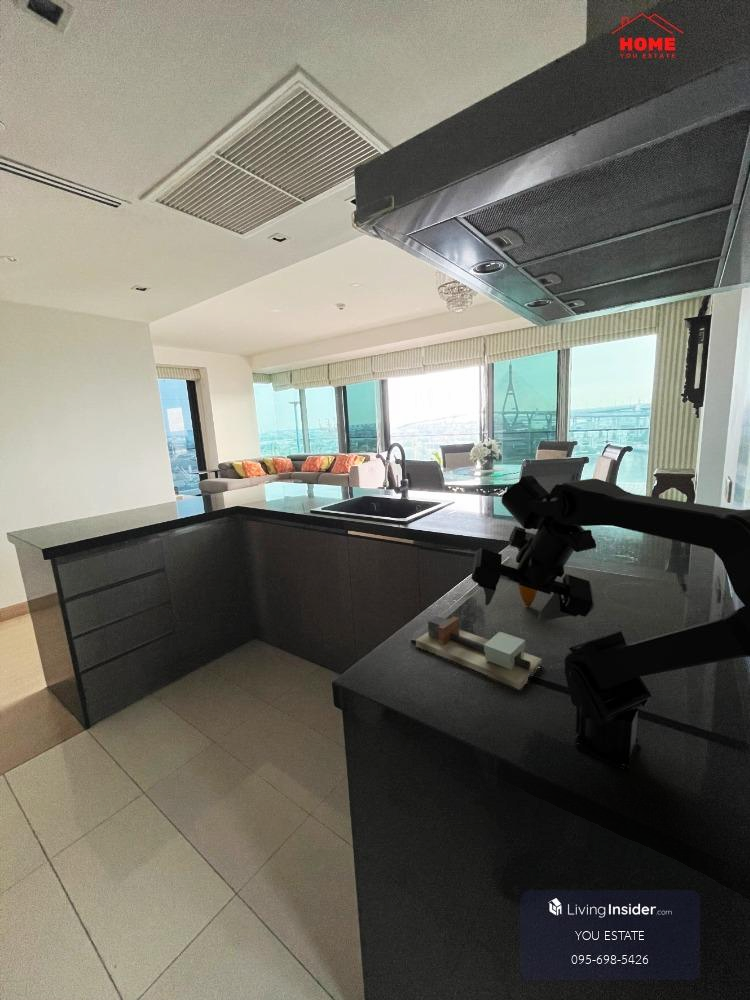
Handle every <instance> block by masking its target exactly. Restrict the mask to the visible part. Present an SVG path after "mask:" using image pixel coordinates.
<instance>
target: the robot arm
mask: <svg viewBox="0 0 750 1000" xmlns="http://www.w3.org/2000/svg"><path fill="white" fill-rule="evenodd" d="M501 505H503V507H504V508H505V509H506V510H507V511H508V512H509V514H510V515H511V516H512V517H513V518H514V519H515V520H516V522H517V523H519V525H521V527H520V526H515V525H514V528H513V529H512V531H511V533H510V535H509V538H508V543H509V546H510V547H512V548H517V550H518V553H517V555H516V557H515V562H516V564H517V563H518V564H519V565H518V564H517V566H516V568H515V567H512V566H509V565H505V564H503V563H502V562H503V561H502V560H503V558H502V557H503V554H502V553H499V552H495V551H492V550H489V549H485V548H479V549H477V550H476V552H475V554H474V556H473V562H472V563H473V564H472V571H471V580H472V581H473V582H474V583H476V584H477V585H478V586H479V588H483V591H484V594H485V595H484V596H485V600H484V601H485V602H484V603H485V604H484V605H485V606H489V605H490V603H491V602H492V600H493V597H494V595H495V593H496V591H497V586H498V583H499V582H500V579H501V580H504V581H507V582H510V583H513V584H516V585H518V584H519V585H521V586H524V587H528V588H531V589H534V590H537V592H541V593H544V594H547V595H551V594H552V593H553V594H552V596H551V597H550V598H549V600H548V601H547V602H546V604H545V605H544V606H543V607H542V609H541V610H540V612H539V614H538V615H537V623H544V622H547V621H550V620H551V621H552V620H555V619H560V618H565V617H578V616H581V617H584V618H586V617H587V616H589V615H590V614H591V612H592V611H593V610H594V608H595V600H594V599H595V598H594V593H593V587H592V584H591V582H590V580H587V579H584V578H581V577H576V576H574V575H571V574H565V569H564V568H565V565H567V562H568V561H569V559H570V557H571V556H572V554H574V552H576V553H580V552H583V551H588V550H589V551H590V550H592V549H596V548H597V543H596V540H595V538H594V537H593V535H592V533H593V532H592V530H591V529H585V528H583V527H598V526H601V527H602V526H608V527H616V528H620V529H625V530H628V531H633V532H637V533H641V534H644V535H645V534H646V535H650V536H653V537H654V536H655V537H658V538H663V539H667V540H671V541H676V542H679V543H680V542H681V543H682V544H683V543H685V544H689V545H691V546H692V545H693V546H696V547H701V548H706V549H710V550H712V551H713V552H714V553H715V555H716V556H717V557H718V558H719V560H721V562H722V563H723V566H724V569H725V571H726V575H727V576H728V579H729V581H730V584H731V587H732V589H733V591H734V593H735V595H736V597H737V598H738V600H740V602H741V603H742V604H743V606H741V607H739V608H738V609H736V610H734V611H733V612H731V613H729V614H728V615H726V616H724V617H720V618H716V619H713V620H710V621H709V620H708V621H706V622H703V623H699V624H695V625H692V626H689V627H685V628H681V629H677V630H675V631H671V632H670V631H669V632H667V633H664V634H659V635H656V636H653V637H649V638H646V639H645V638H644V639H642V640H638V641H628V640H625V637H624V634H623V632H622V631H621V630H620V631H617V632H613V633H611V634H608V635H604V636H603V635H602V636H599V637H596V638H594V639H591V640H588V641H586V642H583V643H580V644H575V645H573V646H570V647H568V650H569V651H570V652H569V653H568V654H566V655H565V656H564V659H563V660H564V675H565V679H566V683H567V689H568V692H569V696H570V699H571V704H572V706H574V707H575V725H574V727H575V728H574V731H575V734H576V735H577V737H576V738H575V740H574V746H575V745H576V746H577V747H578V749H579V748H580V750H581V749H582V751H583V750H584V751H583V752H586V753H588V754H590V755H592V754H593V755H592V756H594V755H596V756H598V757H600V758H602V759H604V760H603V761H605V760H606V761H605V762H607V761H608V762H607V763H608V764H611V763H612V764H611V765H613V764H614V765H613V766H615V765H616V766H615V767H617V766H618V767H617V768H619V767H622V768H624V769H627V768H628V767H629V768H630V766H629V764H630V765H631V763H630V762H632V761H631V759H632V760H633V758H632V756H633V754H634V755H635V753H636V751H635V749H636V750H637V748H636V746H637V744H638V745H639V743H638V742H639V739H638V737H637V728H638V727H637V726H638V715H639V714H638V713H639V712H638V711H639V708H641V707H645V706H647V705H648V703H649V701H650V699H652V693H651V692H650V691H649V689H648V687H647V685H646V684H645V682H644V681H643V680H642V677H646V676H650V675H655V674H660V673H666V672H671V671H677V670H681V669H688V668H691V667H698V666H703V665H708V664H713V663H718V662H723V661H729V660H735V659H738V658H739V659H740V658H750V509H735V508H728V507H721V506H715V505H709V504H708V505H706V504H704V503H703V504H700V503H695V502H689V501H688V502H687V501H683V500H682V501H680V500H675V499H668V498H661V497H655V496H649V495H648V496H647V495H643V494H642V495H641V494H635V493H633V492H629V491H626V490H624V489H623V488H622V487H620V486H619V485H618V484H613V483H611V482H608V481H604V480H603V479H602V480H601V479H599V478H586V479H580V480H573V481H567V482H566V481H565V482H559V483H556V484H555V485H554V486H553V487H552V488H551V491H550V492H548V491H547V489H546V488H544V487H543V486H542V485H541V484H540V483H539V482H538V480H537V479H536V478H535V476H533V475H524V476H521V477H520V479H519V481H517V482H516V483H514V484H513V485H511V486H510V487H509V488H508V489H507V490H506V491H505V492H504V493H503V494H502V496H501ZM531 529H532V530H537V531H535V533H531V532H527V531H526V530H531ZM558 577H560V578H562V580H561V579H557V578H558ZM519 585H518V586H519ZM577 743H579V744H577ZM635 743H636V744H635ZM576 746H575V747H576ZM577 747H576V748H577ZM637 747H638V746H637ZM634 752H635V753H634ZM596 756H595V757H596ZM598 757H597V758H598ZM633 757H634V756H633ZM600 758H599V759H600ZM602 759H601V760H602ZM622 764H625V765H626V766H624V765H622ZM629 768H628V769H629ZM624 769H623V770H624Z"/></svg>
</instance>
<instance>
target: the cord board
mask: <svg viewBox="0 0 750 1000" xmlns="http://www.w3.org/2000/svg"><path fill="white" fill-rule="evenodd" d="M427 627H428V628H427V629H428V631H427V632H426V633H424V634H423V635H421V636H419V637H418V638H417V639H415V647H416V648H418V647H419V648H418V649H420V648H421V650H423V649H424V650H423V651H425V650H427V651H429V652H428V653H430V652H432V653H435V654H437V655H440V656H443V657H445V658H448V659H450V660H453V661H455V662H457V663H459V664H462V665H463V666H466V667H469V668H472V669H474V670H476V671H479V672H481V673H483V674H485V675H488V676H489V677H492V678H494V679H497V680H499V681H501V682H504V683H507V684H509V685H512V686H513V687H515V688H517V689H521V688H522V687H523V686H524V685H525V684H526V685H527V683H528V682H529V681H528V677H529V674H530V673H531V672H533V670H534V669H535V668H537V666H538V665H539V664H541V662H542V663H543V658H541V657H539V656H538V657H537V656H536V655H532V654H530V653H527V652H524V658H523V659H521V658H519V657H515V665H514V668H513V669H512V670H510V669H508V668H505V667H503V666H500V665H497V664H495V663H492V662H490V661H487V660H485V652H484V644H486V643H487V642H488V641H489V640H490V639H487V638H485V637H481V636H479V635H476V634H473V633H471V632H468V631H465V630H462V629H460V618H459V617H457V616H452V617H450V618H449V619H447V618H443V617H440V616H438V615H435V616H433V617H432V618H430V619H428V620H427ZM427 651H426V652H427ZM432 653H431V654H432ZM437 655H436V656H437ZM463 666H462V667H463ZM489 677H488V678H489ZM527 681H528V682H527ZM524 687H525V686H524ZM524 687H523V688H524ZM515 688H514V689H515ZM523 688H522V689H523ZM517 689H516V690H517ZM522 689H521V690H522Z"/></svg>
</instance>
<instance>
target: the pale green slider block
mask: <svg viewBox="0 0 750 1000" xmlns="http://www.w3.org/2000/svg"><path fill="white" fill-rule="evenodd" d="M488 640H489V641H488V642H487V643H486V644H484V652H485V660H487V661H490V662H492V663H495V664H497V665H500V666H503V667H505V668H508V669H510V670H512V669H513V668H514V665H515V657H519V658H521V659H523V658H524V653H525V648H526V640H525V639H524V638H520V637H517V636H514V635H511V634H508V633H506V632H505V633H504V632H502V631H498V632H497V633H496V634H495V635H494V636H492V638H490V639H488Z"/></svg>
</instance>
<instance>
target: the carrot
mask: <svg viewBox="0 0 750 1000" xmlns="http://www.w3.org/2000/svg"><path fill="white" fill-rule="evenodd" d="M518 565H519V563H518V564H517V566H518ZM517 585H518V590H519V594H520V597H521V600H522V601H523V603H524V605H525V606H526V607H527V606H529V607H531V606H532V604H533V602H534V601H535V598H536V596H537V593H538V591H537V590H534V589H531V588H528V587H524V586H521V585H519V584H517Z"/></svg>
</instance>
